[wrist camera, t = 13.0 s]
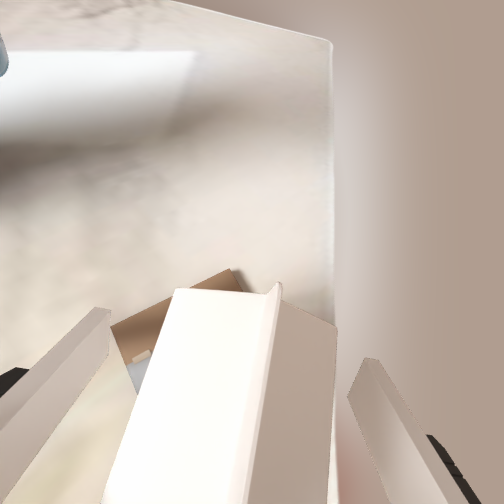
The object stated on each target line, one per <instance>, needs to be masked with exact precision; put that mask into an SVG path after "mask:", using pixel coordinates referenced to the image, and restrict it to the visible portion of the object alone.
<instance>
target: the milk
mask: <svg viewBox="0 0 504 504" xmlns="http://www.w3.org/2000/svg"><path fill="white" fill-rule="evenodd" d="M281 296H282V283H281V282H277V283H276V284H275V285H274V286H273V288H272V289H271V290H270V291H269V292H268V293H267V294H261V293H248V292H235V291H222V290H209V289H195V288H176V290H175V292H174V295H173V297H172V300H171V303H170V306H169V309H168V312H167V314H166V317H165V320H164V323H163V326H162V329H161V331H160V334H159V337H158V340H157V343H156V346H155V348H154V351H153V354H152V357H151V360H150V363H149V365H148V368H147V371H146V374H145V377H144V380H143V382H142V385H141V388H140V391H139V394H138V397H137V400H136V402H135V405H134V408H133V411H132V414H131V417H130V419H129V422H128V425H127V428H126V431H125V434H124V436H123V439H122V442H121V445H120V448H119V451H118V453H117V456H116V459H115V462H114V465H113V468H112V470H111V473H110V476H109V479H108V482H107V485H106V487H105V490H104V493H103V496H102V499H101V502H100V504H327V493H328V477H329V460H330V444H331V428H332V412H333V396H334V380H335V363H336V347H337V328H336V327H335V326H334V325H332V324H330V323H328V322H326V321H323V320H321V319H319V318H317V317H315V316H313V315H311V314H309V313H307V312H305V311H303V310H301V309H299V308H297V307H295V306H293V305H290V304H288V303H286V302H284V301H282V300H281Z"/></svg>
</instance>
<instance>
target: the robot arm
mask: <svg viewBox="0 0 504 504" xmlns="http://www.w3.org/2000/svg"><path fill="white" fill-rule="evenodd" d="M8 65H9V60H8V55H7V51H6V48H5V45H4V42H3V40H2V37H1V34H0V77H1V76H3V75H4V74H5V73H6V71H7V69H8ZM110 318H111V310H108V309H102V308H97V307H95V308H93V309H92V310H91V311H90V312H89V313H88V314H87V315H86V316H85V317H84V318H83V319H82V320H81V321H80V322H79V323H78V324H77V325H76V326H75V327H74V328H73V329H72V330H71V331H70V332H69V333H67V334H66V335H65V336H64V337H63V338H62V339H61V340H60V341H59V342H58V343H57V344H56V345H55V346H54V347H53V348H52V349H51V350H50V351H49V352H48V353H47V354H46V355H45V356H44V357H43V358H41V359H40V360H39V361H38V362H37V363H36V364H35V365H34V366H33V367H32V368H31V369H30V370H29V369H23V368H17V367H15V368H14V369H12V370H10V371H8V372H6V373H4V374H2V375H1V376H0V504H2V502H3V501H4V499H5V498H6V497H7V495H8V494H9V492H10V491H11V490H12V488H13V487H14V486H15V484H16V483H17V481H18V480H19V479H20V477H21V476H22V474H23V473H24V472H25V470H26V469H27V467H28V466H29V465H30V463H31V462H32V460H33V459H34V458H35V456H36V455H37V454H38V452H39V451H40V449H41V448H42V447H43V445H44V444H45V442H46V441H47V440H48V438H49V437H50V435H51V434H52V433H53V431H54V430H55V428H56V427H57V426H58V424H59V423H60V422H61V420H62V419H63V417H64V416H65V415H66V413H67V412H68V410H69V409H70V408H71V406H72V405H73V403H74V402H75V401H76V399H77V398H78V397H79V395H80V394H81V392H82V391H83V390H84V388H85V387H86V385H87V384H88V383H89V381H90V380H91V378H92V377H93V376H94V374H95V373H96V371H97V370H98V369H99V367H100V366H101V365H102V363H103V362H104V360H105V359H106V358H107V356H108V352H109V335H110ZM347 398H348V400H349V402H350V405H351V407H352V410H353V412H354V415H355V417H356V420H357V422H358V425H359V427H360V430H361V432H362V435H363V437H364V440H365V442H366V445H367V447H368V449H369V452H370V454H371V457H372V459H373V462H374V464H375V467H376V469H377V472H378V474H379V477H380V479H381V482H382V484H383V487H384V489H385V491H386V494H387V497H388V499H389V501H390V504H481V502H480V501H479V499H478V498H477V496H476V495H475V493H474V492H473V490H472V489H471V487H470V486H469V484H468V483H467V481H466V480H465V479H463V475H462V474H461V472H460V471H459V469H458V468H457V467H456V466H455V465H454V462H453V460H452V459H451V457H450V456H449V454H448V453H447V451H446V450H445V448H444V447H442V445H441V444H440V443H439V442H438V441H437V440H436V439H435V438H434V437H433V436H432V435H426V434H425V433H424V432H423V430H422V428H421V427H420V425H419V424H418V422H417V421H416V419H415V417H414V416H413V414H412V412H411V411H410V409H409V408H408V406H407V405H406V403H405V402H404V400H403V398H402V397H401V395H400V394H399V392H398V390H397V389H396V387H395V386H394V384H393V382H392V381H391V379H390V378H389V376H388V374H387V373H386V371H385V370H384V368H383V367H382V365H381V363H380V362H379V360H375V359H370V358H364V360H363V363H362V365H361V367H360V369H359V371H358V374H357V376H356V378H355V380H354V382H353V385H352V387H351V389H350V391H349V394H348V396H347Z"/></svg>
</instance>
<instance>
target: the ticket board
mask: <svg viewBox="0 0 504 504" xmlns="http://www.w3.org/2000/svg"><path fill="white" fill-rule="evenodd" d="M190 288H195V289H209V290H222V291H235V292H243V291H242V289H241V287H240V286H239V284H238V282H237V281H236V279H235V277H234V275H233V274H232V272H231V270H230V269H227V270H225V271H223V272H221V273H219V274H217V275H215V276H213V277H211V278H209V279H207V280H205V281H202V282H200V283H198V284H196V285H194V286H192V287H190ZM172 297H173V296H172ZM172 297H170V298H168V299H166V300H164V301H162V302H160V303H158V304H156V305H154V306H152V307H149V308H147V309H145V310H143V311H141V312H139V313H137V314H135V315H133V316H131V317H129V318H127V319H125V320H123V321H121V322H119V323H117V324H115V325H113V326H111V330H112V332H113V335H114V337H115V340H116V342H117V345H118V347H119V350H120V352H121V355H122V357H123V360H124V363H125V365H126V368H127V370H128V373H129V375H130V378H131V380H132V383H133V385H134V388H135V390H136V393H137V395H138V394H139V391H140V388H141V385H142V382H143V380H144V377H145V374H146V371H147V368H148V365H149V363H150V360H151V357H152V354H153V351H154V348H155V346H156V343H157V340H158V337H159V334H160V331H161V329H162V326H163V323H164V320H165V317H166V314H167V312H168V309H169V306H170V303H171V300H172Z"/></svg>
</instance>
